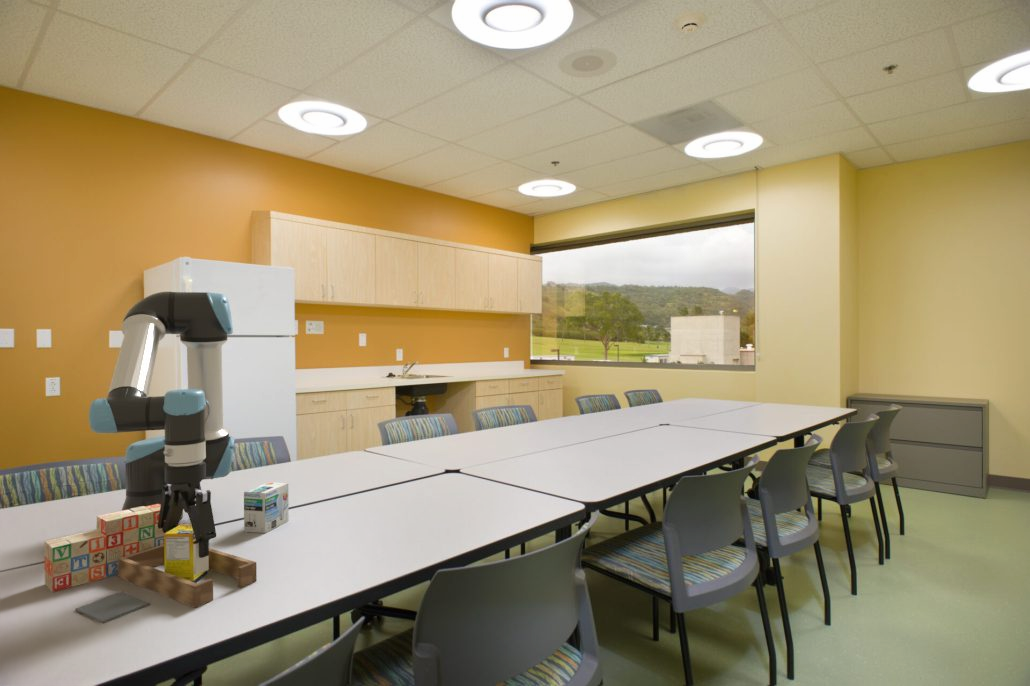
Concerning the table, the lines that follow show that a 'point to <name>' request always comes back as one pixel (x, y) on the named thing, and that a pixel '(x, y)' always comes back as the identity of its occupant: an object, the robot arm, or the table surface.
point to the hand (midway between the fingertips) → (186, 566)
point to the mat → (112, 607)
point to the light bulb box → (266, 507)
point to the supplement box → (181, 553)
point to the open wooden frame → (177, 588)
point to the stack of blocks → (101, 547)
